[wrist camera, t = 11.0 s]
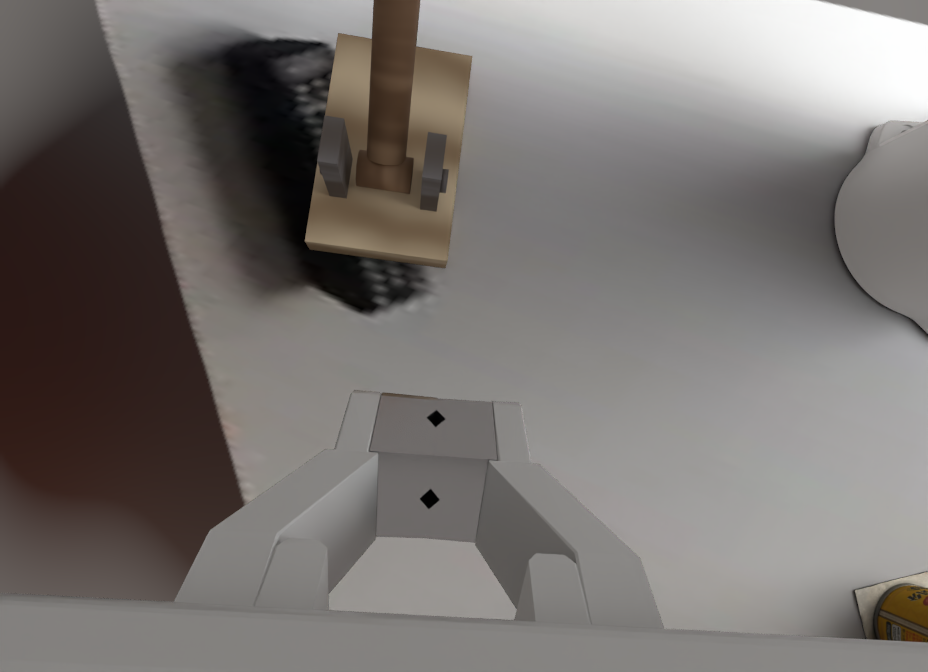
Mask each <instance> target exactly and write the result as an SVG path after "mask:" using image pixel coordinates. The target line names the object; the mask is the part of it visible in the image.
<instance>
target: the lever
mask: <svg viewBox="0 0 928 672" xmlns="http://www.w3.org/2000/svg"><path fill="white" fill-rule="evenodd" d="M419 8H420V0H374V5H373V27H372V48H371V70H370V92H369V113H368V135H367V151H366V150H359V153H358V158H357V164H356V186H359V187H365V188H372V189H379V190H385V191H392V192H399V193H406V194H410V190H411V183H412V175H413V165H414V158H411V157H406V151H407V140H408V129H409V118H410V107H411V96H412V85H413V74H414V63H415V52H416V41H417V30H418V19H419Z"/></svg>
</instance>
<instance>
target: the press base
mask: <svg viewBox="0 0 928 672" xmlns="http://www.w3.org/2000/svg"><path fill="white" fill-rule="evenodd" d="M371 48H372V39H369V38H364V37H358V36H352V35H346V34H340V33H338V38H337V45H336V51H335V57H334V63H333V69H332V76H331V82H330V88H329V94H328V100H327V106H326V113H325V115H324V121H323V127H322V134H321V140H320V146H319V152H318V158H317V168H316V174H315V181H314V187H313V193H312V199H311V205H310V212H309V218H308V224H307V230H306V236H305V242H306V244H307V246H308V247H309V249H310V250H317V251H325V252H332V253H339V254H346V255H353V256H361V257H368V258H375V259H382V260H390V261H397V262H404V263H411V264H419V265H426V266H433V267H440V268H446V264H447V260H448V252H449V243H450V235H451V227H452V219H453V211H454V202H455V194H456V186H457V178H458V169H459V161H460V153H461V145H462V137H463V128H464V120H465V112H466V104H467V96H468V87H469V79H470V71H471V63H472V56H468V55H462V54H456V53H450V52H444V51H439V50H433V49H427V48H421V47H416V52H415V63H414V74H413V85H412V96H411V107H410V118H409V129H408V140H407V151H406V157H411V158H414V165H413V175H412V183H411V190H410V194H406V193H399V192H392V191H385V190H379V189H372V188H365V187H359V186H356V164H357V158H358V153H359V150H366V151H367V135H368V113H369V92H370V70H371Z"/></svg>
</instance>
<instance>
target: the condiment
mask: <svg viewBox="0 0 928 672" xmlns="http://www.w3.org/2000/svg"><path fill="white" fill-rule="evenodd" d="M855 593H856V597H857V602H858V606H859V611H860V616H861V619H862V621H863V628H864V632H865V635H866V637H867V639H870V640H888V641H907V642H925V643H928V572H925V573H921V574H916V575H912V576H908V577H904V578H899V579H896V580H892V581H889V582H884V583H880V584H877V585H874V586H871V587H867V588H863V589H859V590H855Z"/></svg>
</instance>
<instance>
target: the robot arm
mask: <svg viewBox="0 0 928 672" xmlns="http://www.w3.org/2000/svg"><path fill="white" fill-rule="evenodd" d="M835 232H836V238H837V242H838V246H839V249H840V252H841V255H842V257H843V259H844V261H845V264H846V265H847V267H848V269H849V271H850V272H851V274H852V275H853V277H854V278H855V280H856V281H857V282H858V283H859V284H860V286H861V287H862V288H863V289H864V290H865V291H866V292H867V293H868V294H869V295H870V296H872V297H873V298H874V299H875V300H877V301H878V302H880V303H881V304H883V305H884V306H886V307H888V308H890V309H892V310H894V311H896V312H898V313H901V314H903V315H905V316H907V317H909V318H911V319H913V320H914V321H915V322H916V323H917V324H918V325H919V326H920V327H921V328H922V329H923V330H924V331H925V332H926V333H927V334H928V120H927V121H925V122H910V121H888V122H886V123H884V124H882V125H880V126H878V127H876V128H875V129H874V130H873V132H872V134H871V137H870V139H869V142H868V146H867V150H866V153H865V155H864V157H863V158H862V160H861V161H860V162H859V163H858V164H857V165H856V167H855V168H854V169H853V170H852V171H851V172H850V173H849V175H848V176H847V178H846V179H845V181H844V183H843V185H842V187H841V189H840V192H839V195H838V198H837V202H836V207H835ZM376 536H377V537H406V538H429V539H440V540H451V541H462V542H474V543H476V544H475V545H476V547H477V548H478V550H479V552H480V553H481V555H482V556H483V558H484V559H485V561H486V562H487V564H488V565H489V567H490V569H491V570H492V572H493V573H494V575H495V576H496V578H497V579H498V581H499V583H500V584H501V586H502V587H503V589H504V590H505V592H506V593H507V595H508V597H509V598H510V600H511V601H512V603H513V604H514V606H515V607H516V609H517V611H516V615H515V619H514V620H501V619H482V618H464V617H445V616H426V615H408V614H389V613H370V612H352V611H333V610H329V595H328V594H329V593H330V592H331V591H332V590H333V588H334V587H335V586H336V585H337V584H338V583H339V581H340V580H341V579H342V578H343V577H344V576H345V574H346V573H347V572H348V571H349V570H350V569H351V567H352V566H353V565H354V564H355V563H356V562H357V560H358V559H359V558H360V557H361V556H362V555H363V553H364V552H365V551H366V550H367V549H368V548H369V546H370V545H371V544H372V543H373V542H374V541H375V538H376ZM0 672H928V643H925V642H907V641H888V640H870V639H851V638H833V637H814V636H796V635H777V634H758V633H739V632H720V631H701V630H682V629H664V626H663V623H662V620H661V617H660V614H659V612H658V609H657V606H656V603H655V600H654V597H653V594H652V591H651V588H650V585H649V583H648V580H647V577H646V574H645V571H644V568H643V565H642V562H641V559H640V557H638V556H637V555H636V554H635V553H634V552H633V551H632V550H631V549H630V548H629V547H628V546H627V545H626V544H625V543H624V542H622V541H621V540H620V539H619V538H618V537H617V536H616V535H615V534H614V533H613V532H612V531H611V530H610V529H609V528H608V527H606V526H605V525H604V524H603V523H602V522H601V521H600V520H599V519H598V518H597V517H596V516H595V515H594V514H593V513H591V512H590V511H589V510H588V509H587V508H586V507H585V506H584V505H583V504H582V503H581V502H580V501H579V500H578V499H577V498H575V497H574V496H573V495H572V494H571V493H570V492H569V491H568V490H567V489H566V488H565V487H564V486H563V485H562V484H561V483H559V482H558V481H557V480H556V479H555V478H554V477H553V476H552V475H551V474H550V473H549V472H548V471H547V470H546V469H544V468H543V467H542V466H541V465H540V464H532V463H531V457H530V451H529V446H528V440H527V434H526V429H525V423H524V417H523V412H522V406H521V405H520V403H518V402H496V401H492V402H484V401H469V400H454V399H438V398H434V397H424V396H414V395H403V394H393V393H380V392H371V391H358V390H354V391H353V392H352V393H351V394H350V398H349V401H348V405H347V408H346V411H345V415H344V418H343V421H342V425H341V428H340V431H339V435H338V438H337V442H336V445H335V448H334V449H325V450H323V451H322V452H321V453H319V454H318V455H316V456H315V457H313V458H312V459H311V460H309V461H308V462H306V463H305V464H304V465H302V466H301V467H299V468H298V469H296V470H295V471H294V472H292V473H291V474H289V475H288V476H286V477H285V478H284V479H282V480H281V481H279V482H278V483H277V484H275V485H274V486H272V487H271V488H269V489H268V490H267V491H265V492H264V493H262V494H261V495H259V496H258V497H257V498H255V499H254V500H252V501H251V502H249V503H248V504H247V505H245V506H244V507H242V508H241V509H240V510H238V511H237V512H235V513H234V514H232V515H231V516H230V517H228V518H227V519H225V520H224V521H223V522H221V523H220V524H218V525H217V526H215V527H214V528H213V529H211V530H210V531H209V533H208V535H207V537H206V539H205V541H204V543H203V545H202V547H201V549H200V551H199V553H198V555H197V557H196V559H195V561H194V563H193V565H192V567H191V569H190V571H189V573H188V575H187V577H186V579H185V581H184V583H183V585H182V587H181V589H180V590H179V593H178V594H177V596H176V599H175V600H174V602H166V601H146V600H129V599H109V598H92V597H72V596H54V595H35V594H17V593H0Z"/></svg>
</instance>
